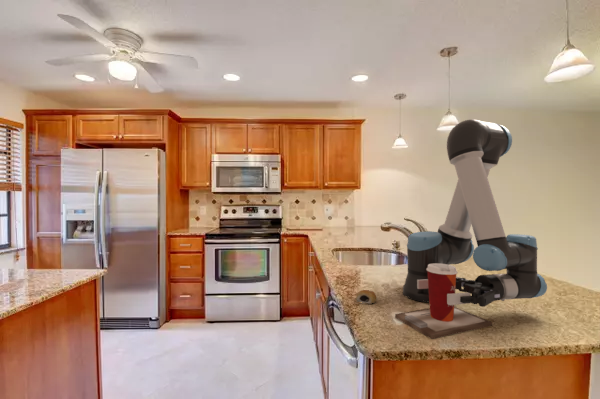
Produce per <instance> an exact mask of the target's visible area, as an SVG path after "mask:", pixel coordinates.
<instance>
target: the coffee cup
mask: <svg viewBox="0 0 600 399" xmlns="http://www.w3.org/2000/svg"><path fill="white" fill-rule="evenodd" d="M426 270H427V271H428V288H429V302H428V303H429V308H430V315H431V317H432V318H434V319H436V320H439V321H452V320H453V316H454V307H455V305H448V304H447V294H453V293H456V289H455V287H456V277H457V274H458V270H457V268H456V266H454V265H453V264H450V265H448V264H439V263H433V264H428V268H427V269H426Z"/></svg>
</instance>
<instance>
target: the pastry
mask: <svg viewBox="0 0 600 399" xmlns="http://www.w3.org/2000/svg"><path fill="white" fill-rule="evenodd" d="M355 302H356V303H358V302H362V303H361V304H364V303H368V304H367V305H373V304H372V303H374V304H375V303H376V302H377V295H376V293H375V292H374V291H372V290H369V289H363V290H359V291H358V292H357V293H356V297H355Z"/></svg>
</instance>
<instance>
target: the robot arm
mask: <svg viewBox="0 0 600 399" xmlns="http://www.w3.org/2000/svg"><path fill="white" fill-rule="evenodd" d="M512 143H513V136H512V133H511V131H510V129H508V128H507V127H505V126H504V125H501V124H500V123H499V124H498V123H497V122H489V121H483V120H478V119H466V120H462V121H461V122H458V123H457V124H456V125H454V126H453V127H452V129H451V130H450V132H449V133H448V136H447V141H446V152H447V157H448V160H449V164H451V165H453V166H454V168H455V172H456V175H457V178H458V180H457V182H456V185H455V189H454V193H453V195H452V198H451V202H450V205H449V207H448V211H447V215H446V217H445V222H444V223H443V224H441V225H439V226H438V230H437V231H430V230H429V231H417V232H413V233H411V234H410V235H409V236H408V237H407V244H406V246H407V247H406V248H407V275H406V278H405V281H404V284H403V286H402V295H403V296H404V297H406V298H408V299H410V300H414V301H418V302H422V303H429V288H428V271H427V270H426V269H427V268H428V264H433V263H439V264H448V265H459V264H462V263H464V262H467V261H469V260H470V259H471V258H472V259H473V262H474V263H475V265H477V267H478V268H480V269H481V270H483V271H486V272H487V271H489V272H494V271H495V272H498V271H502V270H506V273H493V274H481V275H478V276H476V278H475V279H467V280H466V277H460V278H456V287H455V290H458V291H459V292H457V293H456V292H455V293H453V294H447V304H448V305H454V306H456V305H468V304H473V305H478V306H479V307H482V308H484V307H486V306H488V305H490V304H492V303H494V302H496V301H502V302H505V300H515V299H518V300H519V299H533V298H539V297H542V296H544V295H545V294H546V292H547V290H548V285H547V284H548V283H547V281H545V280H546V279H545V278H544V277H543V276H542V275H540V274H539V273H538V249H539V248H538V243H537V238H536V237H535V236H533V235H530V234H529V235H528V234H519V233H517V234H516V233H512V234H511V233H509V234H507V235H506V233H505V230H504V227H503V224H502V220H501V218H500V217H501V216H500V214H499V211H498V208H497V204H496V201H495V198H494V195H493V192H492V188H491V185H490V182H489V178H488V176H489V174H490V171H491V169H493V168H494V167H496V166H498V164H499V160H500V158H502V157H503V156H504V155H506V154H507V153H509V151H510V149H511V148H512ZM471 227H472V230H473V234H474V237H475V241H476V245H477V246H476V247H475V246H474V245H475V244H473V240H472V238H473V234H472V233H471V231H470V229H471Z"/></svg>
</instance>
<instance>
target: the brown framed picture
mask: <svg viewBox="0 0 600 399" xmlns="http://www.w3.org/2000/svg"><path fill="white" fill-rule="evenodd" d="M394 317H395V318H396V319H397V320H398V321H401V322H402V323H404V324H405V325H408V326H409V327H411V328H412V329H414V330H415V331H417V332H419V333H420V334H422V335H424V336H426V337H428V338H429V339H430V340H433V339H437V338H442V337H446V336H452V335H455V334H461V333H464V332H471V331H473V330H478V329H483V328H488V327H492V326H493V322H492V321H491V320H488V319H486V318H483V317H480V316H478V315H476V314H474V313H470V312H469V311H466V310H464V309H461V308H459V307H457V306H454V316H453V320H452V321H439V320H436V319H434V318H432V317H431V315H430V307H429V308H424V309H417V310H412V311H411V310H410V311H405V312H401V313H395V314H394Z"/></svg>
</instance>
